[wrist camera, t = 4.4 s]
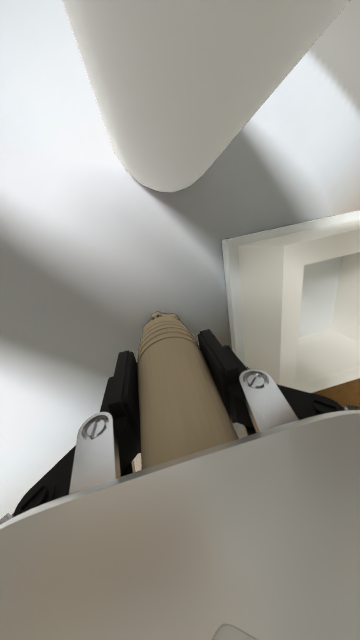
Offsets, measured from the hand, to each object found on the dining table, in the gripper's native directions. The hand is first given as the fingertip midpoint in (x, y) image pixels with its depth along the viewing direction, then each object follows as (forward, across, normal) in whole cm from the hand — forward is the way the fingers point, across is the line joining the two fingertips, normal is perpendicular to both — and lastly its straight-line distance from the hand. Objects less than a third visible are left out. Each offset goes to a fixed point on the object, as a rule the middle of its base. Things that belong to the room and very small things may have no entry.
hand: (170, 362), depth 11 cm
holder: (+5, -12, 0) cm, 13 cm away
